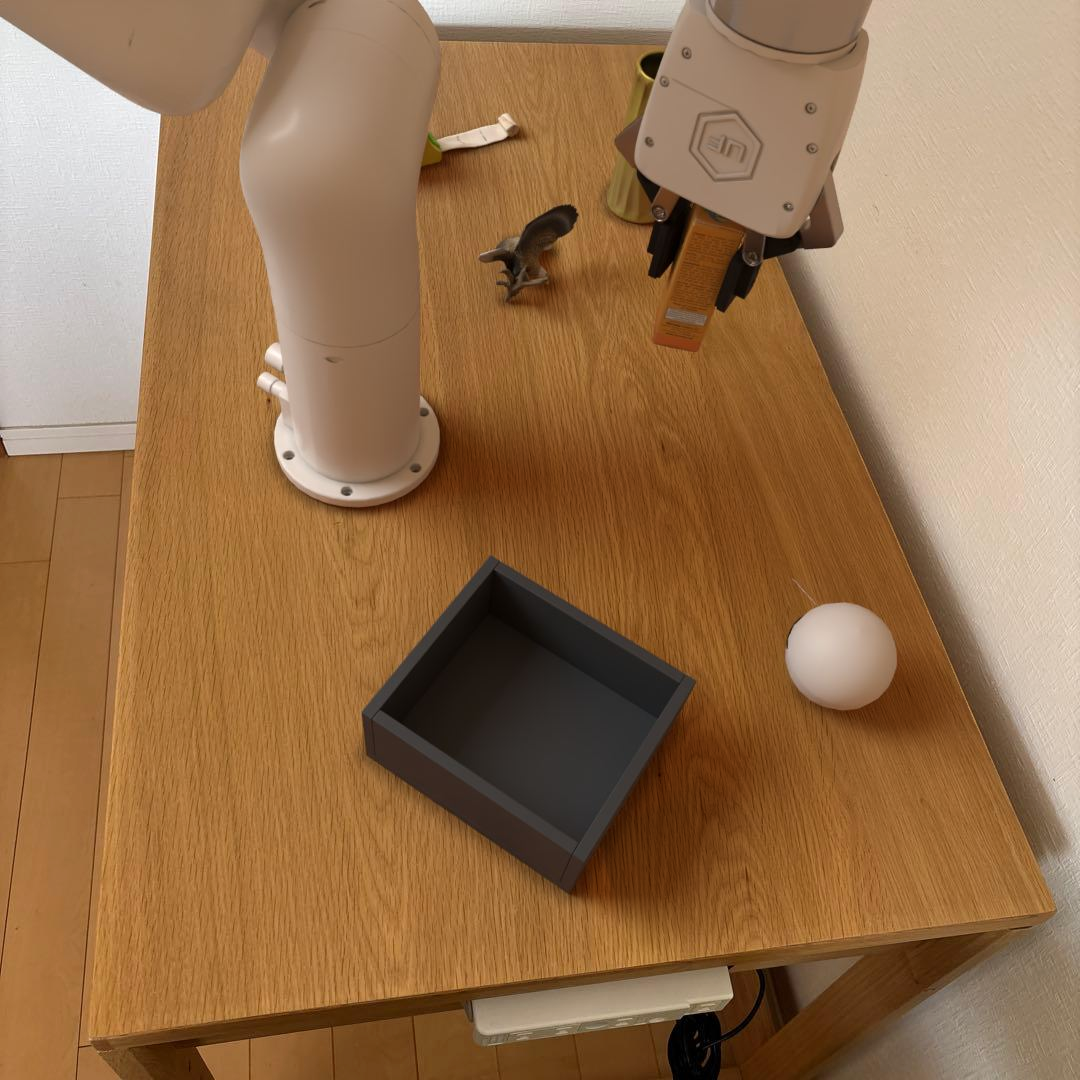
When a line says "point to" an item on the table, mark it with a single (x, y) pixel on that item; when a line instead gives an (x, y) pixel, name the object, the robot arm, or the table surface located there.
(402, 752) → the bin
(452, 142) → the toy measuring tape
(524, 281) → the eagle figurine
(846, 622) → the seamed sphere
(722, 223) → the supplement box
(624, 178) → the vase
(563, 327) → the table surface
